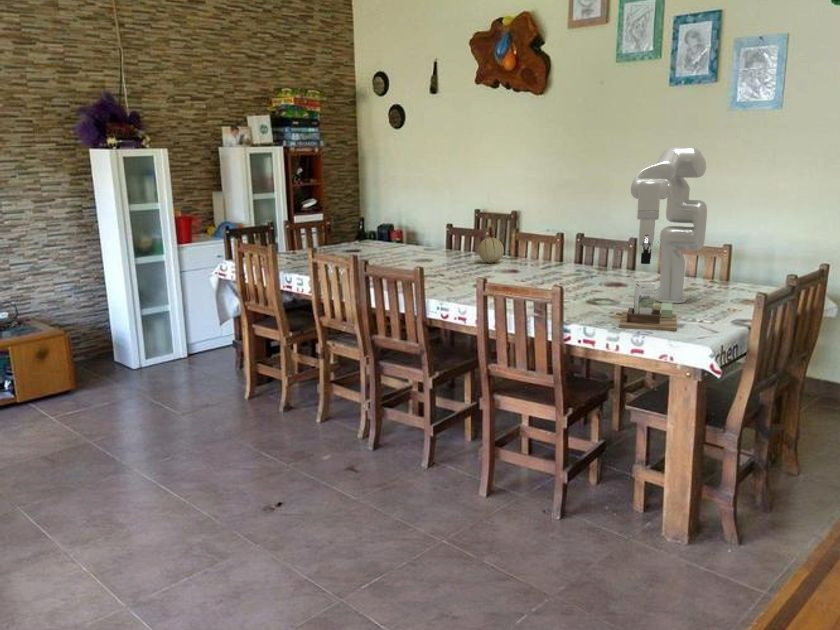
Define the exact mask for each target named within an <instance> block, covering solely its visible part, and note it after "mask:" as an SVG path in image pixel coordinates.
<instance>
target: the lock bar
mask: <svg viewBox="0 0 840 630" xmlns="http://www.w3.org/2000/svg"><path fill="white" fill-rule="evenodd" d="M673 312H674V311H673V303H663V302H661V308H660V313H661V317H665V318H672V314H673Z"/></svg>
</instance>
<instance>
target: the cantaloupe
mask: <svg viewBox="0 0 840 630" xmlns="http://www.w3.org/2000/svg"><path fill="white" fill-rule="evenodd" d="M504 249H505V248H504V245H503V243H502V241H501V240H499V238H496V237H491V236H487V238H484V239H483V240H481V242H480V243H479V245H478V248H477V251H478V256H479V258H480V259H481V260H482V261H484V262H485V263H487V262H488V263H487V264H494V263H493V262H495V263H497V262H499V261H500V260H502V258H503V257H504V253H505V250H504Z"/></svg>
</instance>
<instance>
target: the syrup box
mask: <svg viewBox="0 0 840 630" xmlns="http://www.w3.org/2000/svg"><path fill="white" fill-rule="evenodd" d="M634 285H635V286H634V297H633V298H634V301H633V308H634V314H649V315H653V309H654V300H655V287H656V283H654V282H653V281H651V280H635V283H634Z"/></svg>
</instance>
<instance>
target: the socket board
mask: <svg viewBox="0 0 840 630" xmlns="http://www.w3.org/2000/svg"><path fill="white" fill-rule="evenodd" d="M619 320H620V321H619V323H618V328H619V329H633V330H634V329H635V330H649V331H651V330H652V331H668V332H669V331H670V332H677V329H678V327H677V326H678V325H677V322H678V321H677V313H672V318H665V317H661V308H660V309H659V308H653V315H649V314H634V307H628V310H627V311H622V312H621V317H620V319H619Z"/></svg>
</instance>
